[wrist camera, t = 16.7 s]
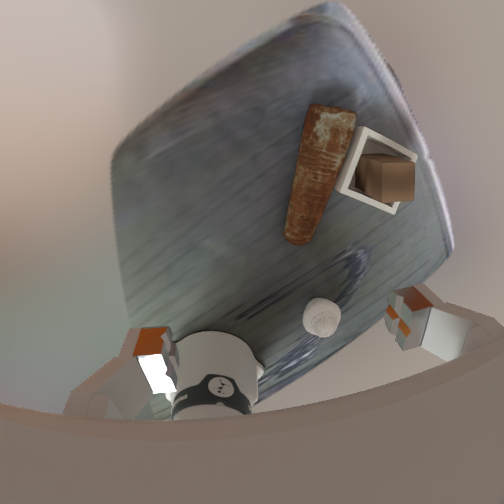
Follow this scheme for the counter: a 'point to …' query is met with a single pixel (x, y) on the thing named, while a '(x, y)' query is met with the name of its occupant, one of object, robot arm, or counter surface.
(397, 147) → the bin
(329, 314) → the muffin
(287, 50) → the counter surface
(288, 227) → the bread
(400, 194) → the walnut block
